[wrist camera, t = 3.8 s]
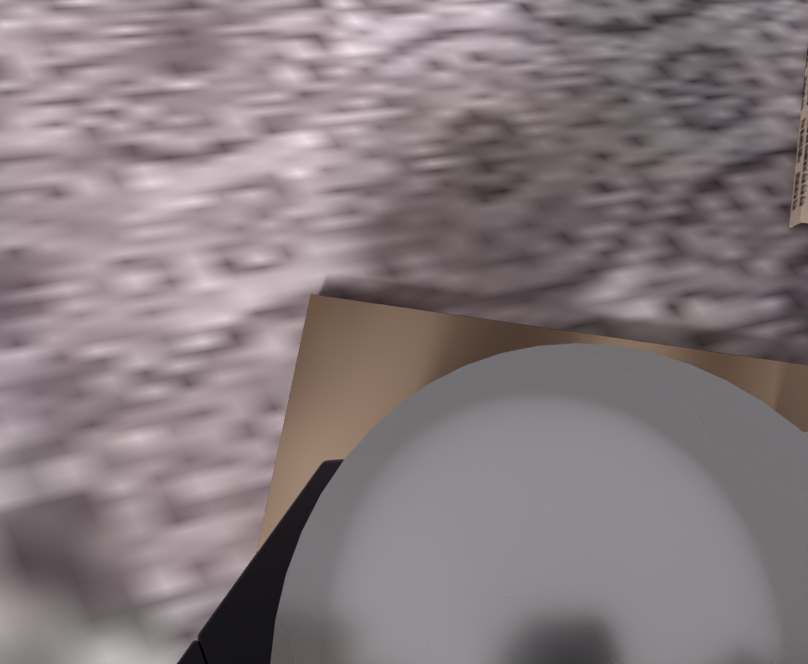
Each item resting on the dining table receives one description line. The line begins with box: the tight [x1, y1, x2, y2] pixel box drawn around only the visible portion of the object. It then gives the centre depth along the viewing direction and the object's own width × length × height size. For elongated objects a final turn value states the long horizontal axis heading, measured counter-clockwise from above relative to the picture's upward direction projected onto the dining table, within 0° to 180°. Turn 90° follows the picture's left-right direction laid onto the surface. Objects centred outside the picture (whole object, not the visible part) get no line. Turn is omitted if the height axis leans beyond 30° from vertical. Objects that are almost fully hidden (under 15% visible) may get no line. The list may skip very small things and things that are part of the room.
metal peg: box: [270, 343, 808, 664], centre depth 9 cm, size 4×4×11 cm
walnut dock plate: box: [257, 294, 808, 552], centre depth 15 cm, size 25×13×4 cm, turn 81°
